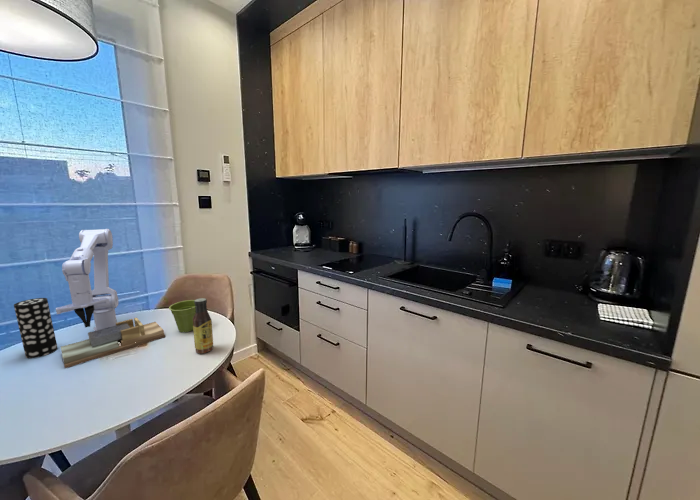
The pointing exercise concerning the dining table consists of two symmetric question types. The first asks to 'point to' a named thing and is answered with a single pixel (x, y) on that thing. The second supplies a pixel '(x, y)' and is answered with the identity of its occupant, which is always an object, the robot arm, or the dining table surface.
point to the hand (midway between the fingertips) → (87, 326)
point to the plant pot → (184, 314)
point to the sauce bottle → (202, 327)
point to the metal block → (106, 334)
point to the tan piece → (112, 343)
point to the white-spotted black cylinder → (36, 327)
